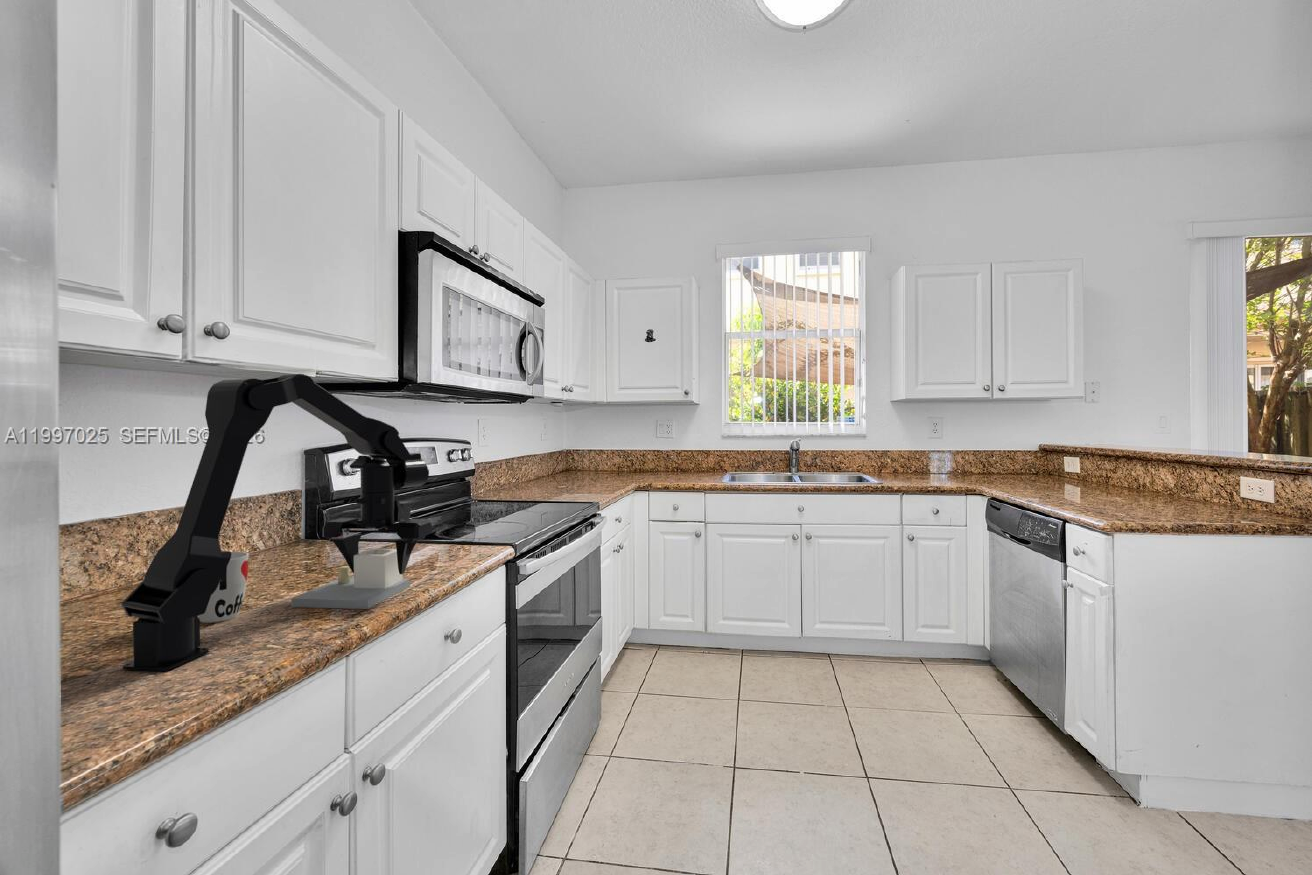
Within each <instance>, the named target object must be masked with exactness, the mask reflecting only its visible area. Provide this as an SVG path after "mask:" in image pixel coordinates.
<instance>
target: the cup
mask: <svg viewBox="0 0 1312 875" xmlns="http://www.w3.org/2000/svg"><path fill="white" fill-rule="evenodd" d="M230 552H231V553H232V554H231V559H230V561H229V563H228V565H227V568H226V571H225V581H220V583H219V585H218V587H217V589H216V591H215V592H214V593H213V594H211V597H210V600H209V603H208V606H207V609H206V611H205V613H204V614H202V615H198V617H199V619H200V623H204V624H205V623H206V624H208V623H209V624H211V623H218V622H225V621H228V620H231V619H235V618H236V617H238V616H239V614H240V612H241V609H242V605H243V602H244V600H245V595H246V588H247V584H248V577H249V576H248V575H249V574H248V573H249V555H250V554H249V553H248V552H244V551H230Z"/></svg>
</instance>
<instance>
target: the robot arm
mask: <svg viewBox="0 0 1312 875" xmlns="http://www.w3.org/2000/svg"><path fill="white" fill-rule="evenodd" d="M206 396H207V398H206V405H205V412H204V417H205V420H206V425H207V429H208V437H207V439H206V442H205V445H204V449H203V452H202V454H201V458H200V461H199V464H198V467H197V468H196V472H195V475H194V478H193V482H192V484H191V487H190V490H189V493H188V495H187V498H186V502H185V504H184V507H183V510H182V513H181V517H180V518H179V523H178V524H177V528H176V530H175V532H174V534H172V536H170V538H169V539H168V540H167V541H166V542H165V543H164V544H163V545H162V546H161V547H160V548H159V549H158V551H157V552H156V554H155V556H154V558H152V561H151V563H150V565H149V567H148V568H147V570H146V572H145V574H144V578H143V580H142V581H141V582H140V583H139V585H137V587H135V589H134V590H132V592H130V593H129V594H128V596H127V597H126V598H125V599H124V600H123V601H121V604H120V605H121V607H122V609H123V611H124V612H125V615H126V616H127V617H134V618H138V619H137V620H135V621H133V622H132V643H133V644H132V645H133V646H132V647H133V650H132V652H133V660H132V661H129V662H128V663H125V664H123V665H122V670H130V671H153V672H154V671H156V672H157V671H158V672H161V671H162V672H164V671H170V670H173V669H174V668H177V667H179V666H181V665H183V664H186V663H187V662H190V661H193V660H194V659H196V658H198V657H200V656H203V655H206V654H207V653H210V649H209V647H201V627H200V626H201V625H200V624H201V621H200V619H199V617H198V615H202V614H204V613H205V611H206V609H207V606H208V603H209V600H210V597H211V594H213V593H214V592H215V591H216V589H217V587H218V585H219V583H220V581H225V571H226V568H227V565H228V563H229V561H230V559H231V554H232V553H231V552H232V551H229V550H222V548H221V542H220V539H219V538H220V534H221V530H222V528H223V525H224V524H223V523H224V521H225V517H226V515H227V511H228V509H229V504H230V502H231V499H232V496H233V493H234V489H235V487H236V483H237V479H238V475H239V474H240V470H241V467H242V465H243V461H244V457H245V456H246V455H245V454H246V451H247V448H248V445H249V443H250V441H251V440H252V439H253V437H254V436H255V435H256V434H257V433H258V432H259V431H260V430H261V429H263V427H264V426H265V424H266V423H267V421H268V419H269V418H270V415H271V414H272V412H273V410H274V408H275V407H280V406H284V405H287V404H290V403H293V404H295V405H296V406H298V407H299V408H301V409H302V410H304V411H305V412H307V413H309V414H311V415H312V416H314V417H315V418H317V419H319V420H320V421H322V422H324V424H327V425H328V426H329V427H331V428H333V429H335V430H336V431H338V432H339V433H340V434H342V435H343V436H344V438H345V440H346V442H347V444H348V445H349V446H351V448H353V449H354V450H355V451H356V452H357V453H358V454H359V455H358V456H357V458H356V459H355V460H353V462H352V463H351V464H350V465H349V469H357V470H358V469H359V470H360V471H359V472H360V497H356V504H357V505H360V519H359V518H356V517H341V518H340V517H339V518H336V519H332V520H329V521H326V522H325V523H324V525H323V527H322V537H323V538H329V540H328V541H329V542H330V543H333V544H334V545H335V546H336V548H337V549H338V550H339V552H340V553H341V555H342V556H343V559H344V560H345V562H346V564H347V566H349V567H350V571H351V572H352V574H354V555H357V554H360V553H359V544H360V543H359V542H360V541H361V537H362V535H363V533H364V534H367V533H368V534H396V535H397V536H398V537H399V539H396V540H395V549H396V550H397V562H398V570H399V574H402V575H403V574H404V573H405V571H406V569H407V567H408V564H409V561H410V558H411V555H412V552H413V550H414V548H415V546H416V545H417V543H418V542H419V540H422V539H425V537H426V536H428V535H430V534H432V533H433V525H432V523H431V521H430V520H429V518H411V512H412V507H411V506H408V505H406V504H404V503H400V501H399V500H400V498H399V494H395V489H397V490H398V489H405V488H413V487H420V486H423V485H424V484H426V483H427V481H428V480H429V476H430V469H429V468H428V465H427V464H426V462H425V461H424V460H423V459H422V458H421V457H422V455H421V453H418V452H417V453H415V452H414V453H413V452H409V450H408V448H407V447H406V445H405V444H404V442H403V441H402V439H401V437H400V436H399V435H400V432H399V430H398V429H397V428H396V427H395V426H393V425H391V424H389V423H386V422H385V421H382V420H379V419H375V418H372V417H368V416H366V415H363V414H361V413H360V412H359V411H357V410H356V409H354V408H353V407H352V406H350V405H348V404H347V403H345V402H344V401H342V400H341V399H339V398H338V397H337V396H335V395H333V393H331V392H329V391H328V390H327V389H325V388H324V387H322V386H320V385H319V384H318V383H316V382H315V381H314V380H313V378H311V377H310V376H308V375H306V374H304V373H294V374H293V373H292V374H282V375H280V376H278V377H272V378H266V379H258V378H238V379H224V380H221V381H218V382H215V383H213V384H212V385H211V386H210V388H209V390H208V391H207V395H206Z"/></svg>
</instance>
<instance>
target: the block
mask: <svg viewBox="0 0 1312 875" xmlns="http://www.w3.org/2000/svg"><path fill="white" fill-rule="evenodd" d="M353 577H354V588H379V589H385V588H387V587H389V586H391V585H393V584H395V583H397V582H399V581H401V580H402V578H403V574H399V570H398V562H397V550H396V548H371V549H368V550H365V551H363V552H360V553H359V554H357V555H354V573H353Z"/></svg>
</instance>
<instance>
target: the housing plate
mask: <svg viewBox="0 0 1312 875" xmlns="http://www.w3.org/2000/svg"><path fill="white" fill-rule="evenodd" d="M350 571H351V569H350V567H349V565H344V566H339V567H337V579H334V580H332V581H330V582H328V583H324V584H322V585H320V586H318V587H316V588H313V589H311V590H309V591H306V592H303V593H301V594H299V595H295V596H294V597H291V604H290V605H291V607H292V608H312V609H313V608H317V609H319V608H320V609H349V610H350V609H351V610H352V609H354V610H369V609H371V608H372V607H374V606H376V605H378V604H380V603H382V602H383V601H386V600H387V599H389V598H391V597H393V596H394V595H397V594H398V593H400V592H402V591H404V590H406V589H407V588H409V587H411V578H403V577H402V580H401V581H399V582H397V583H395V584H393V585H391V586H389V587H387V588H385V589H379V588H354V576H353V577H351V572H350Z"/></svg>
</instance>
